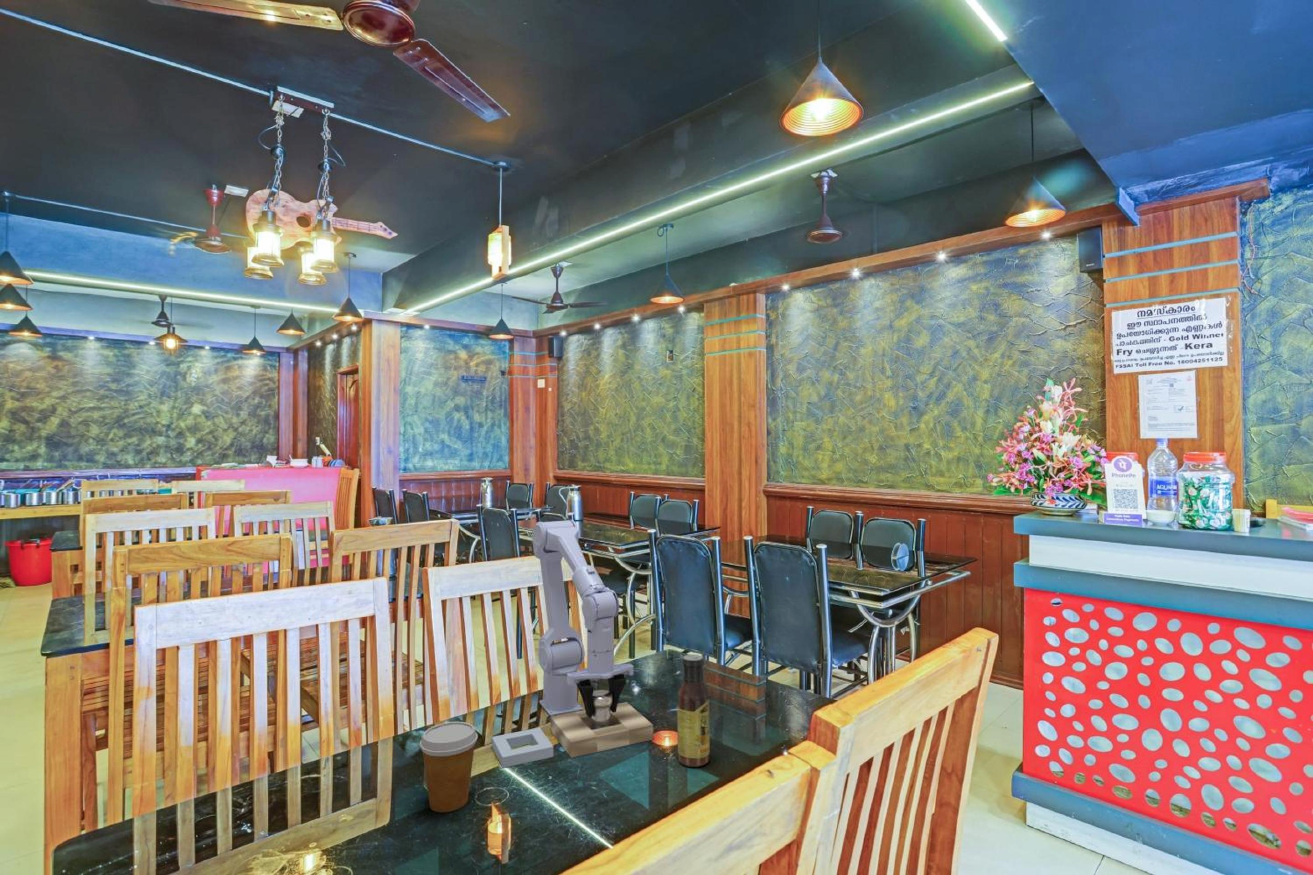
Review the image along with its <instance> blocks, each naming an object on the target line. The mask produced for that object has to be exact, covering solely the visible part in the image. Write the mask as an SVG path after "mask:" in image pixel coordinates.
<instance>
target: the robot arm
mask: <svg viewBox="0 0 1313 875" xmlns="http://www.w3.org/2000/svg"><path fill="white" fill-rule="evenodd" d="M579 538H580V531H579V528H578V524H577V523H576V522H575V521H574V520H573V519H568V520H556V521H553V520H552V521H537V522H536V523H535V525H534V526H533V529H532V534H531V539H532V547H533V553H534V558H536V559H538V560H539V562H540V563H539V565H540V571H541V579H542V588H543V594H544V601H545V604H544V605H545V611H546V618H547V619H546V620H547V626H548V629H547V630H546V631H545V633H543V634H542V636H541V637H540V638H539V639H538V654H537V658H538V664H539V667H540V668H541V670H543V676H542V677H543V678H542V679H543V680H542V685H543V689H542V690H543V691H542V692H543V697H542V698H543V699H540V700H539V704H540V705H541V706H542V708H543V709H544V710H545V711H546V713H547V715H549V716H550V717H552V716H557V715H562V714H567V713H573V712H578V711H583V710H585V711H586V715H587V716H588V717H592V713H593V712H592V698H593V691H595V690H594V689H595V688H594V686H592V682H591V681H598V680H605V679H606V680H607V682H608V691H611V692H612V693H613V704H612V705H611V706H610V710H611V711H612V712H613V713H614V712H616V709H617V705H618V704H619V702H620V701H619V700H620V698H621V695H622V692H623V690H624V688H625V686H626V684H627V678H626V677H625V676H626V675H628V676H633V675H634V665H633V664H632V663H620V664H619V663H617V664H615V618H616V617H617V616H618V614H619V612H620V603H619V598H618V595H617V593H616V592H615V591H614V590H612V589H610V588H609V587H606V586H605V584H604V582H603V580H602V579H601V576H600V575H599V573H598V572H597V569H596V568H595V567H594V566H593V565H588V562H587V561H586V558H585V556H584V554H583V551H582V548H581V546H580V544H579ZM562 559H564V561H565V562H566V563H567V565H568V566H569V567H570V570H571V571H572V572H573V574H572V577H571V580H572V581H571V582H572V583H573V585H574V587H575V589H576V591H577V593H578V595H579V597H580V599H581V601H582V603H581V612H582V615H583V616H582V617H583V619H584V620H583V621H584V627H585V629H586V631H587V632H586V635H587V636H586V639H587V640H586V642H587V644H586V645H587V646H586V647H587V648H586V651H585V646H584V644H583V641H582V638H581V637H582V636H581V633H580V631H578V630H576V629H575V628H574V627H572V626H570V620H569V612H568V604H567V595H566V589H565V582H564V574H563V568H562ZM563 639H566V640H563ZM561 640H562V641H561ZM554 641H556V642H554ZM586 652H587V655H586ZM585 656H586V657H585ZM585 658H586V659H587V660H586V662H587V663H586V664H587V665H586V666H587V667H586V668H583V669H581V668H580V666H581V665H582V664H583V663H584V660H585ZM578 691H579V694H580V695H581V699H582V703H583V705H584V707H583V706H582V705H581V704H580V703H578Z"/></svg>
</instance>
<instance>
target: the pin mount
mask: <svg viewBox="0 0 1313 875" xmlns="http://www.w3.org/2000/svg"><path fill="white" fill-rule="evenodd" d="M527 745H529V746H527ZM521 746H522V747H521ZM517 747H520V748H517ZM491 748H492V750H493V751H494V754H495V756H496V758H497V759H498V762H499V763H500V766H501V768H502V769H505V768H508V767H514V766H519V765H522V764H528V763H531V762H536V761H540V760H545V759H551V758H554V745H553V743H552V742H550V740H549V738H548V737H547V736H546V734H545V733H544V731H543V730H542V729H541V727H535V728H531V729H530V728H529V729H525V730H520V731H516V732H511V733H506V734H500V735H494V736H492V737H491ZM512 748H515V749H512Z"/></svg>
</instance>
